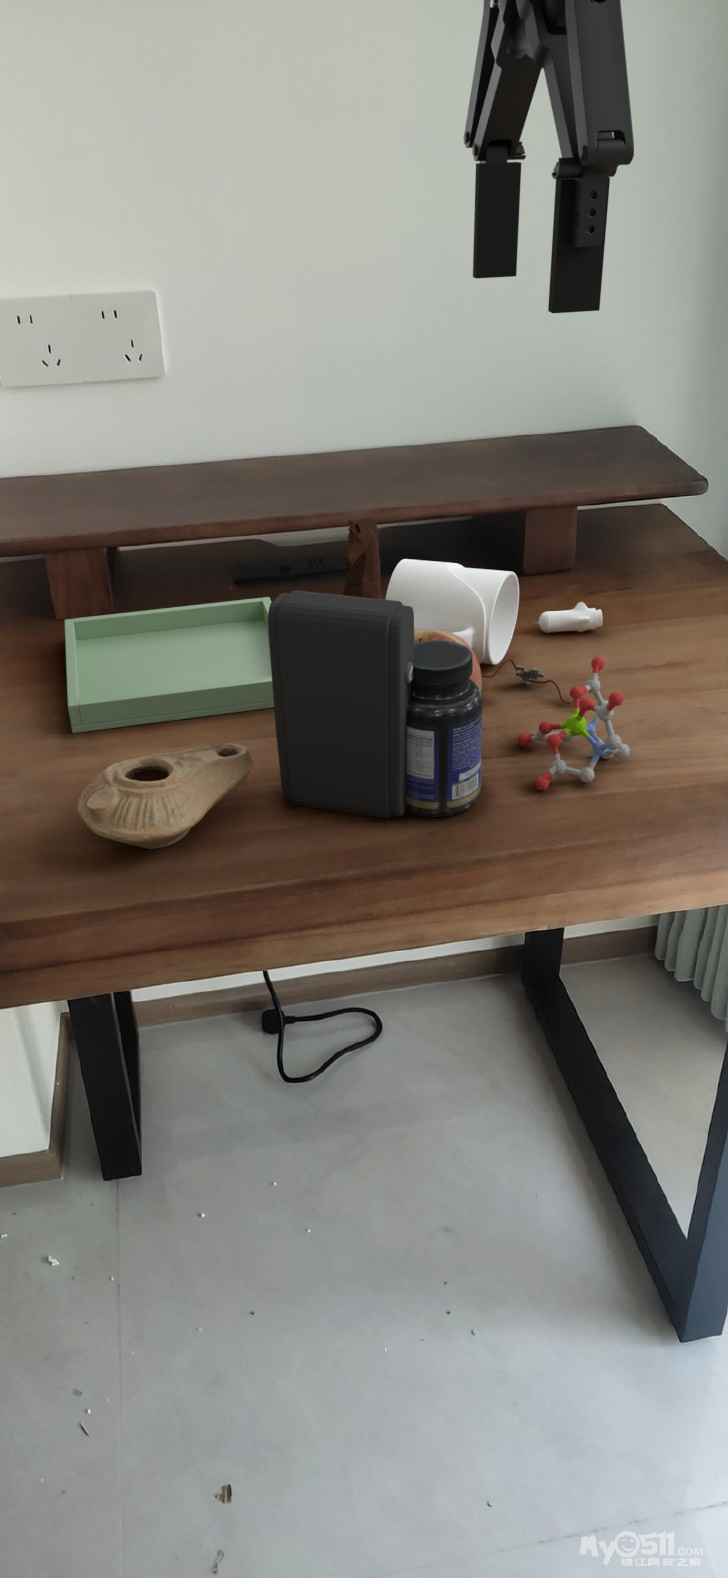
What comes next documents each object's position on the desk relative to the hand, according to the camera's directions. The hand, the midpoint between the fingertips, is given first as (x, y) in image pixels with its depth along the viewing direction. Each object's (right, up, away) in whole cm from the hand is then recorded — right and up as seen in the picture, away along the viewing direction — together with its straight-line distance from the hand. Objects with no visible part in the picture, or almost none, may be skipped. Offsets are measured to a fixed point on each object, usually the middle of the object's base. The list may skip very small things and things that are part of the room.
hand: (530, 293), depth 71 cm
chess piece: (-10, -14, +39) cm, 43 cm away
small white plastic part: (+8, -16, +36) cm, 40 cm away
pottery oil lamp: (-23, -32, +10) cm, 41 cm away
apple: (-6, -26, +20) cm, 33 cm away
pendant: (+3, -21, +24) cm, 32 cm away
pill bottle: (-5, -30, +12) cm, 33 cm away
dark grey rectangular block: (-11, -31, +12) cm, 35 cm away
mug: (-3, -19, +31) cm, 36 cm away
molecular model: (+5, -28, +16) cm, 33 cm away
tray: (-26, -20, +31) cm, 45 cm away
